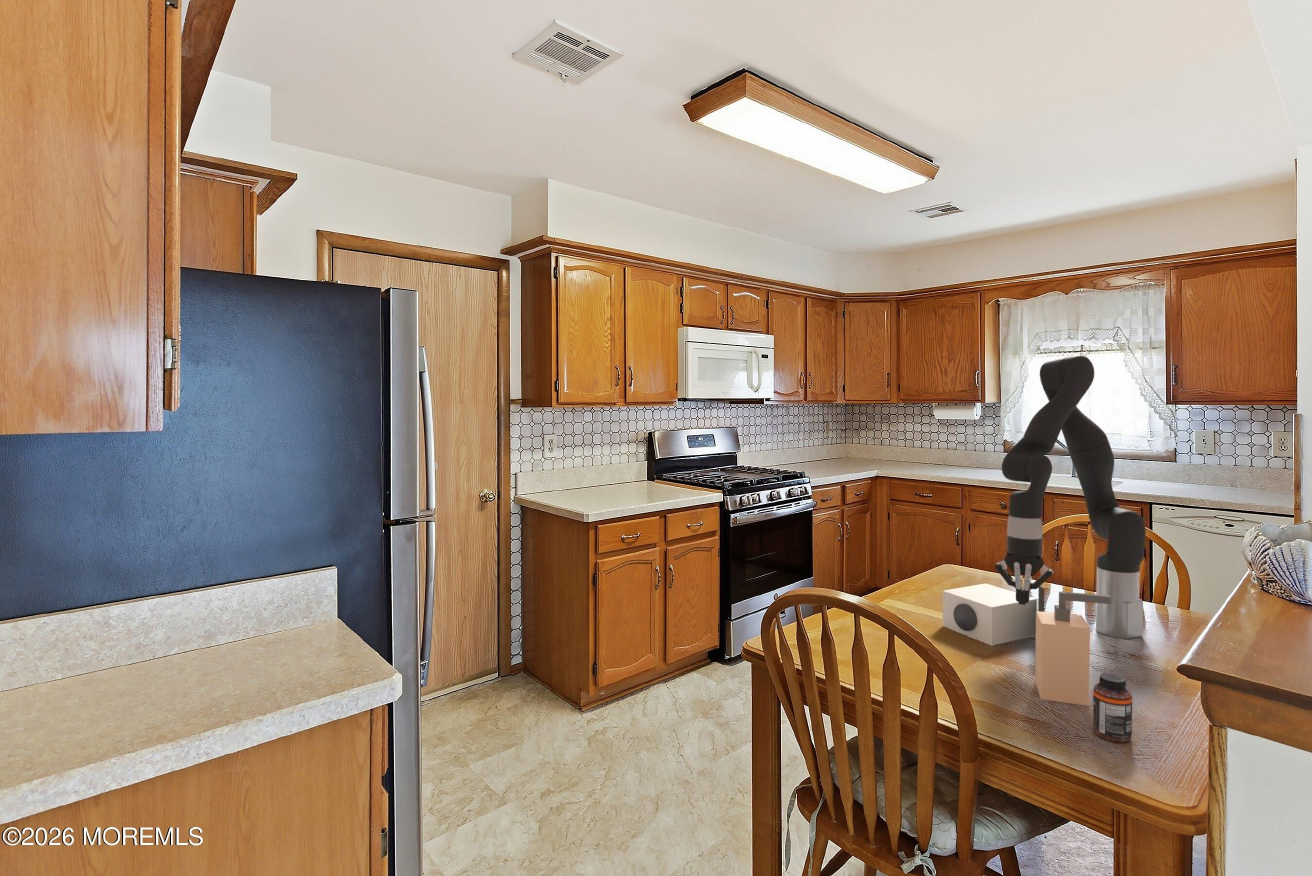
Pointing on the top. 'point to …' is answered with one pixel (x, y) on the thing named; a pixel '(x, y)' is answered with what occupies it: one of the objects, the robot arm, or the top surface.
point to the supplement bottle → (1112, 708)
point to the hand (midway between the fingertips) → (1022, 603)
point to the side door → (1040, 599)
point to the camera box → (988, 614)
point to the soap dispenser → (1064, 651)
